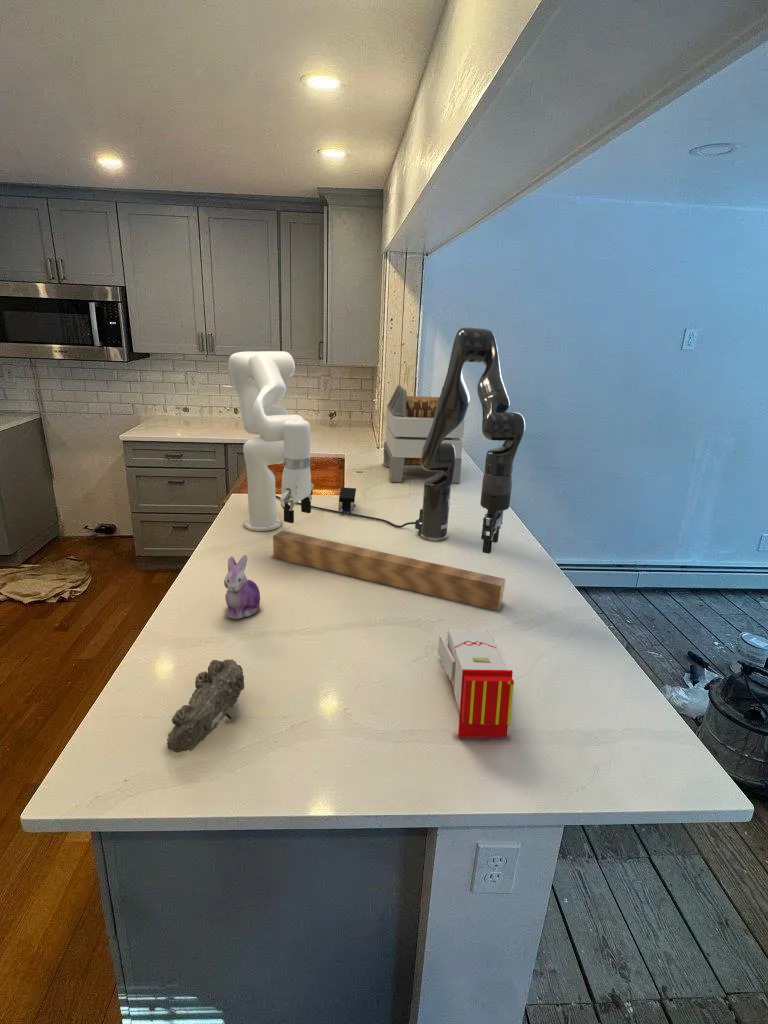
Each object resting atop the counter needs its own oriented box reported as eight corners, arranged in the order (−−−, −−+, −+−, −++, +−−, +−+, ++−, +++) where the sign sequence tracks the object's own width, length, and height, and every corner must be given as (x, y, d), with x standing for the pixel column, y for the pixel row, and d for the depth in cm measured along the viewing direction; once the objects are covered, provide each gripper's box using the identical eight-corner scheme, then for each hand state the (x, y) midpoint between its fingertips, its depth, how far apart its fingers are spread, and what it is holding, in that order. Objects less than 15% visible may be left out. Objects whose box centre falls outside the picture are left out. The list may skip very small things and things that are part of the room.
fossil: (192, 660, 117) (244, 628, 112) (224, 691, 120) (276, 661, 115) (142, 746, 98) (202, 712, 93) (182, 779, 101) (242, 748, 96)
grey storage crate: (382, 463, 289) (386, 382, 275) (445, 464, 293) (451, 384, 279) (390, 482, 257) (394, 392, 243) (460, 483, 261) (468, 394, 247)
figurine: (229, 624, 139) (226, 568, 134) (220, 605, 148) (216, 552, 142) (266, 616, 143) (265, 562, 138) (255, 598, 152) (254, 546, 147)
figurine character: (355, 520, 214) (356, 503, 227) (355, 502, 211) (356, 486, 224) (337, 519, 214) (339, 502, 227) (337, 501, 210) (339, 485, 224)
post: (501, 603, 155) (505, 578, 153) (498, 611, 151) (501, 586, 149) (282, 552, 181) (281, 530, 178) (273, 557, 177) (272, 535, 174)
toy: (488, 613, 130) (523, 677, 101) (484, 667, 133) (517, 744, 104) (435, 612, 130) (455, 676, 101) (432, 666, 133) (451, 743, 103)
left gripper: (301, 454, 174) (301, 506, 180) (269, 467, 159) (270, 524, 165) (322, 457, 172) (322, 511, 178) (292, 471, 157) (293, 528, 163)
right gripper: (488, 480, 154) (482, 536, 160) (475, 494, 142) (469, 554, 147) (516, 484, 152) (509, 541, 157) (505, 499, 139) (498, 559, 144)
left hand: (297, 517), depth 171 cm, fingers open, 9 cm apart
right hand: (490, 547), depth 152 cm, fingers open, 8 cm apart
